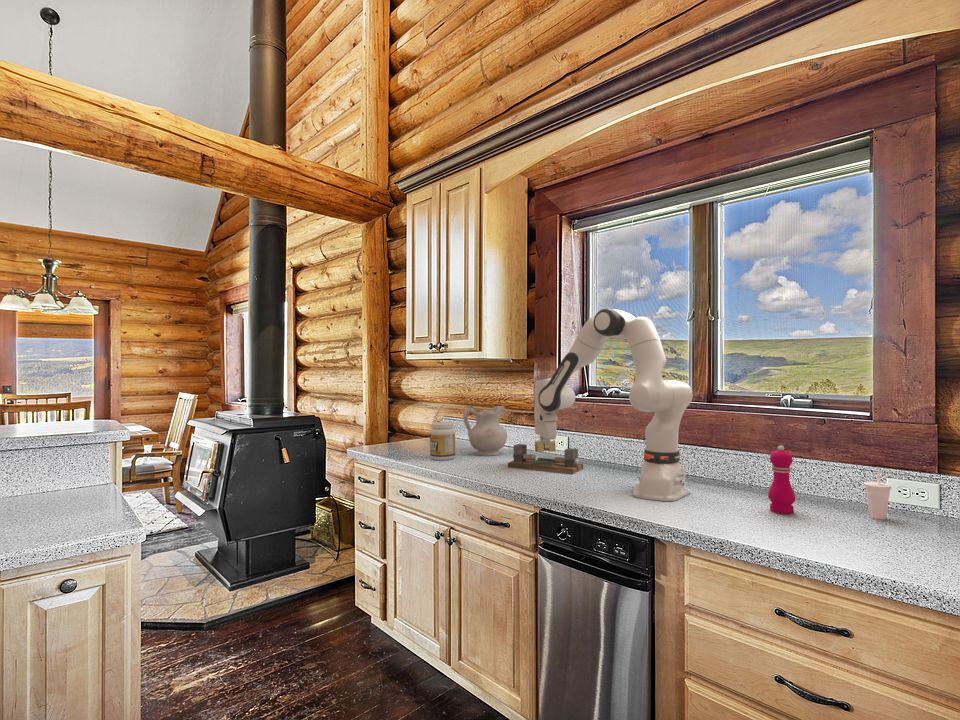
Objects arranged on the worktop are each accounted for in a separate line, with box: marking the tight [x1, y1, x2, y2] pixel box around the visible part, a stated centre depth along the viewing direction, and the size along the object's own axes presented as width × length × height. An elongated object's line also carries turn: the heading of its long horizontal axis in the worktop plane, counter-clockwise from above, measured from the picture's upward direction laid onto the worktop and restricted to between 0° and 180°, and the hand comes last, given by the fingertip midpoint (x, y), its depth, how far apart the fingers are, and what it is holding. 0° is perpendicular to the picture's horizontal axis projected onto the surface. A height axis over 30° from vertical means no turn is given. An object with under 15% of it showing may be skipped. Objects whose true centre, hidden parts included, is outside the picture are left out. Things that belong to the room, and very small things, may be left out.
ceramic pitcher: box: [462, 404, 508, 457], centre depth 260 cm, size 22×20×25 cm
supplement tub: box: [429, 421, 456, 461], centre depth 250 cm, size 12×12×17 cm
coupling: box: [534, 440, 556, 453], centre depth 225 cm, size 4×8×4 cm, turn 100°
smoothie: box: [863, 468, 892, 521], centre depth 151 cm, size 6×6×14 cm
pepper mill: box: [767, 445, 796, 515], centre depth 158 cm, size 7×7×20 cm
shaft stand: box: [507, 443, 584, 475], centre depth 225 cm, size 12×30×9 cm, turn 59°
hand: (545, 447), depth 225 cm, fingers closed on coupling, 3 cm apart
